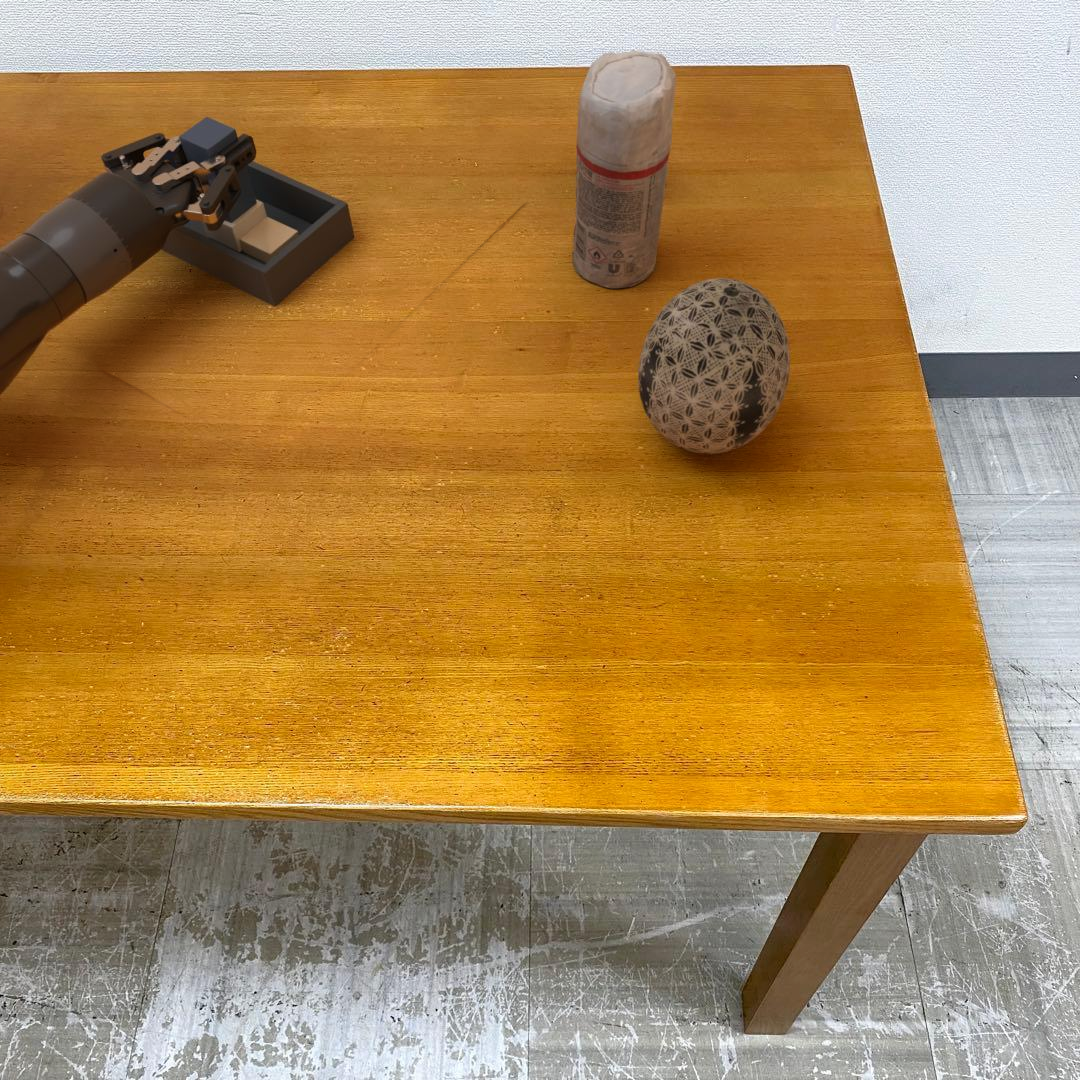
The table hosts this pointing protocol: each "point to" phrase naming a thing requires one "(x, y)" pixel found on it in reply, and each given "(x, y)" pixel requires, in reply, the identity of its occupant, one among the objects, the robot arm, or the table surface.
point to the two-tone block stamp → (200, 147)
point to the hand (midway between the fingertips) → (234, 136)
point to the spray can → (622, 166)
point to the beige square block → (267, 239)
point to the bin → (318, 241)
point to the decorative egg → (714, 366)
